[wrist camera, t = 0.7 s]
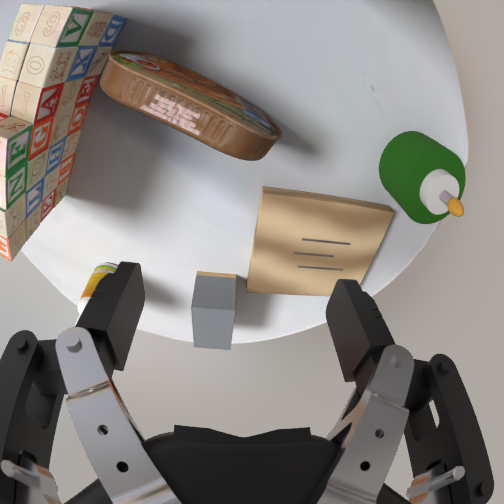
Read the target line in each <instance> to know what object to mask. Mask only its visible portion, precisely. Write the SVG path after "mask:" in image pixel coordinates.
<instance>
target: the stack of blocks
mask: <svg viewBox="0 0 504 504" xmlns="http://www.w3.org/2000/svg"><path fill="white" fill-rule="evenodd" d="M126 20H127V19H126V18H123V17H119V16H116V15H112V14H109V13H104V12H100V11H95V10H91V9H86V8H80V7H72V6H71V7H68V6H57V5H37V4H22V5H21V7H20V9H19V11H18V14H17V16H16V19H15V21H14V24H13V26H12V29H11V32H10V35H9V39H8V40H7V42H6V45H5V48H4V51H3V54H2V58H1V61H0V255H1V256H2V257H4V258H6V259H8V260H9V261H13V259H14V258H15V256H16V255H17V253H18V252H19V251H20V249H21V248H22V246H23V245H24V244H25V242H26V241H27V240H28V239H29V238H30V236H31V235H32V234H33V233H34V231H35V230H36V229H37V228H38V226H39V225H40V223H41V222H42V221H43V219H44V218H45V217H46V216H47V215H48V214H49V212H50V211H51V210H52V209H53V208H54V207H56V205H57V204H58V203H59V202H60V201H61V200H62V199H63V197H64V196H65V195H66V191H67V186H68V180H69V176H70V174H71V169H72V164H73V160H74V156H75V151H76V148H77V145H78V141H79V137H80V133H81V130H82V124H83V120H84V116H85V114H86V111H87V108H88V105H89V100H90V98H91V95H92V92H93V90H94V87H95V84H96V82H97V79H98V77H99V74H100V73H101V72H102V69H103V67H104V65H105V62H106V60H107V58H108V56H109V54H110V52H111V50H112V47H113V45H114V43H115V41H116V39H117V37H118V35H119V33H120V31H121V29H122V28H123V26H124V24H125V22H126Z"/></svg>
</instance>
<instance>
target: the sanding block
mask: <svg viewBox="0 0 504 504" xmlns="http://www.w3.org/2000/svg"><path fill="white" fill-rule="evenodd" d="M235 308H236V274H225V273H213V272H201V271H197V275H196V281H195V287H194V293H193V299H192V306H191V311H192V326H193V339H194V347H200V348H211V349H224V350H225V349H226V350H230V347H231V341H232V333H233V325H234V318H235Z"/></svg>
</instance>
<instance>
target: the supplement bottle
mask: <svg viewBox="0 0 504 504" xmlns="http://www.w3.org/2000/svg"><path fill="white" fill-rule="evenodd" d="M117 267H118V266H116V265H114V264H110V263H101V264H99V265H98V266H97V267H96V268H95V270H94V272H93V274H92V276H91V278H90V280H89V282H88V284H87V286H86V288H85V290H84V292H83V294H82V296H81V298H80V301H79V303H78V311H79V314H80V315H79V316H78V318H77V321H76V324H77V322H78V320H79V318H80V316H81V314H82V312H83V310H84V308H85V306H86V304H87V302H88V300H89V299H90V298H91V295H92V293H93V291H95V288H96V286H97V284H98V282H99V281H100V280H101V279H102V278H103V277H104V276H105V275H107V274H108V273H115V271H116V269H117ZM76 324H75V326H76Z"/></svg>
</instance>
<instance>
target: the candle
mask: <svg viewBox="0 0 504 504" xmlns="http://www.w3.org/2000/svg"><path fill="white" fill-rule="evenodd" d="M379 174H380V179H381V182H382V184H383V186H384V188H385V189H386V190H387V191H388V192H389V193H390V194H391V196H392V197H393V198H394V199H395V200H396V201H397V203H398V204H399V205H400V206H401V207H402V209H403V210H404V211H405V212H406V213H407V215H408V216H409V217H410V218H411V219H412V220H414V221H415V222H418V223H421V224H431V223H434V222H437V221H439V220H441V219H443V218H444V217H446V216H447V215H448V214H449V213H451V214H453V215H454V216H457V217H459V216H462V215H463V213H464V208H463V205H462V203H461V202H460V201H459V200H460V199H461V196H462V194H463V191H464V187H465V170H464V166H463V164H462V162H461V160H460V158H459V157H458V156H457V155H456V154H455V153H453V152H452V151H450V150H449V149H447V148H446V147H444V146H442V145H441V144H439V143H438V142H436V141H434V140H433V139H431V138H429V137H428V136H426V135H424V134H423V133H420V132H416V131H409V132H404V133H402V134H399V135H398V136H396V137H395V138H393V139H392V140H391V141H390V142H389V143H388V145H387V146H386V148H385V149H384V151H383V154H382V156H381V159H380V164H379Z"/></svg>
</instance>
